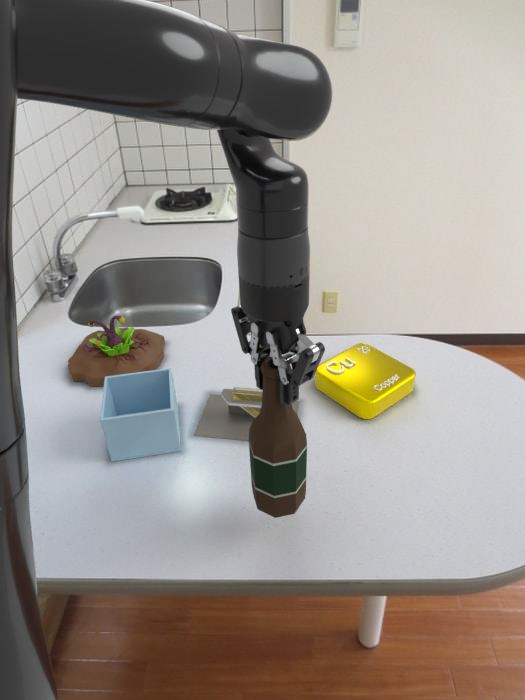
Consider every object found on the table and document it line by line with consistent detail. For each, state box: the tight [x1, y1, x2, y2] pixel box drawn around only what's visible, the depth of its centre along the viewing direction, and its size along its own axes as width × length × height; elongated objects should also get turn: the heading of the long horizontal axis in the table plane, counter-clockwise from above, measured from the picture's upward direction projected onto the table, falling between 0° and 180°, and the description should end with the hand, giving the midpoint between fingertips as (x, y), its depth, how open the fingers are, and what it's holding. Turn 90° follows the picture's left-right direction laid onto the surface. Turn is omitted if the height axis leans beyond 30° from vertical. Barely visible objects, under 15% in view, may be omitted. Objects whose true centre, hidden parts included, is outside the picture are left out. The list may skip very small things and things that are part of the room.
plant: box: [67, 315, 166, 387], centre depth 113 cm, size 20×20×11 cm
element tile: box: [314, 342, 417, 420], centre depth 104 cm, size 15×15×5 cm
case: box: [99, 367, 182, 462], centre depth 94 cm, size 12×12×10 cm
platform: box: [193, 386, 300, 442], centre depth 97 cm, size 12×18×7 cm, turn 80°
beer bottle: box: [248, 356, 308, 519], centre depth 69 cm, size 8×8×24 cm
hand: (276, 393), depth 65 cm, fingers closed on beer bottle, 4 cm apart
